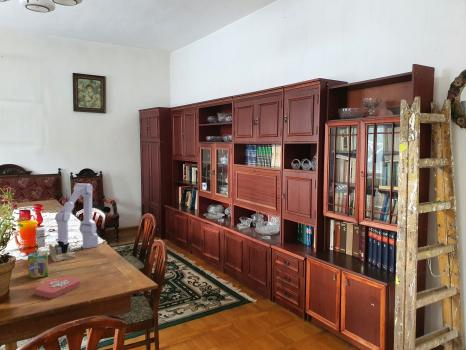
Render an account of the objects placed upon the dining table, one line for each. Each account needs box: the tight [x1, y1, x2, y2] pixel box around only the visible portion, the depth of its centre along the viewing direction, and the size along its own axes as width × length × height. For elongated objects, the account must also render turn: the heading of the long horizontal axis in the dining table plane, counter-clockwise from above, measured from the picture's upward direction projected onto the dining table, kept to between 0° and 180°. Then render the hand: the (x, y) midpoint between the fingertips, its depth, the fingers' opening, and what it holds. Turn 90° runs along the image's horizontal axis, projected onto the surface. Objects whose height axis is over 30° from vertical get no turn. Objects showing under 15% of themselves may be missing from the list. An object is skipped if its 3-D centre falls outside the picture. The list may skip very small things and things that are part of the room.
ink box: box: [36, 227, 46, 248], centre depth 252 cm, size 8×5×12 cm, turn 124°
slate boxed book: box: [57, 245, 71, 255], centre depth 229 cm, size 7×4×6 cm, turn 126°
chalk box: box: [27, 247, 49, 279], centre depth 198 cm, size 9×9×15 cm
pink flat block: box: [35, 276, 81, 299], centre depth 180 cm, size 18×4×15 cm
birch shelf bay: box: [48, 243, 77, 263], centre depth 230 cm, size 12×16×7 cm
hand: (63, 253), depth 229 cm, fingers closed on slate boxed book, 4 cm apart
